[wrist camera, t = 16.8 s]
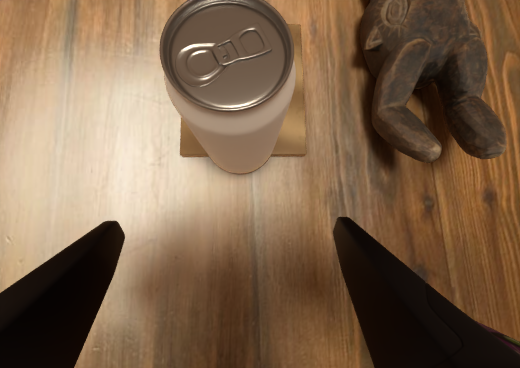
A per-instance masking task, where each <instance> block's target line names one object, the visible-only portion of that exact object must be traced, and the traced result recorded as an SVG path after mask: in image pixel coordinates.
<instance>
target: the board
mask: <svg viewBox="0 0 520 368" xmlns="http://www.w3.org/2000/svg"><path fill="white" fill-rule="evenodd" d="M287 25H288V27H289V29H290V32H291V35H292V38H293V43H294V62H295V69H296V80H295V87H294V91H293V95H292V98H291V101H290V104H289V107H288V110H287V113H286V116H285V119H284V121H283V124H282V127H281V130H280V133H279V135H278V138H277V141H276V144H275V146H274V149H273V151H272V154H271V156H305V155H306V154H307V152H306V130H305V109H304V88H303V67H302V46H301V25H300V24H287ZM180 155H181V156H182V157H209V155H208V154H207V152H206V151H205V150H204V148H203V147H202V146H201V144H200V143H199V141H198V140H197V139H196V137H195V136H194V134H193V133H192V131H191V130H190V129H189V127H188V126H187V124H186V123H185V121H184V120H183V118H182V117H181V139H180Z"/></svg>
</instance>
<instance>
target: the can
mask: <svg viewBox="0 0 520 368" xmlns="http://www.w3.org/2000/svg"><path fill="white" fill-rule="evenodd" d="M160 59H161V64H162V67H163V70H164V79H165V85H166V89H167V92H168V94H169V97H170V99H171V101H172V103H173V105H174V106H175V108H176V109H177V111H178V113H179V114H180V116H181V117H182V118H183V120H184V121H185V123H186V124H187V126H188V127H189V129H190V130H191V131H192V133H193V134H194V136H195V137H196V139H197V140H198V141H199V143H200V144H201V146H202V147H203V148H204V150H205V151H206V152H207V154H208V155H209V157H210V158H211V159H212V160H213V162H214V163H215V164H216V165H217V166H219V167H220V168H222V169H223V170H225V171H228V172H231V173H237V174H242V173H249V172H252V171H254V170H256V169H258V168H260V167H261V166H262V165H264V164H265V163H266V161H267V160H268V159H269V157H270V156H271V154H272V151H273V149H274V146H275V144H276V141H277V138H278V135H279V133H280V130H281V127H282V124H283V121H284V119H285V116H286V113H287V110H288V107H289V104H290V101H291V98H292V95H293V91H294V87H295V80H296V69H295V62H294V43H293V38H292V35H291V32H290V29H289V27H288V25H287V23H286V22H285V20H284V19H283V17H282V16H281V15H280V13H279V12H278V11H277V10H276V9H275V8H274V7H272V6H271V5H270V4H269V3H267V2H266V1H264V0H188V1H186V2H185V3H183V4H182V5H181V6H180V7H178V8H177V9H176V10H175V12H174V13H173V14H172V15H171V16H170V18H169V19H168V21H167V23H166V25H165V27H164V29H163V32H162V35H161V40H160Z"/></svg>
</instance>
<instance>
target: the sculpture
mask: <svg viewBox="0 0 520 368" xmlns="http://www.w3.org/2000/svg"><path fill="white" fill-rule="evenodd" d="M481 38H482V34H481V31H480V30H479V29H478V27H477V26H476V25H475V24H473V23H472V22H471V21H470V20H469V17H468V13H467V11H466V6H465V1H464V0H370V3H369V5H368V6H367V8H366V9H365V11H364V14H363V18H362V22H361V28H360V41H361V47H362V51H363V54H364V57H365V60H366V62H367V65H368V67H369V70H370V72H371V73H372V75H373V76H374V77H375V78H376V79H377V81H376V85H375V90H374V96H373V102H372V125H373V127H374V128H375V130H376V131H377V132H378V133H379V135H380V136H381V137H383V138H384V139H385V140H386V141H387V142H388V143H389V144H390V145H392V146H393V147H394V148H395V149H397V150H398V151H400V152H401V153H403V154H405V155H408V156H410V157H412V158H414V159H416V160H419V161H422V162H426V163H430V162H433V161H435V160H437V158H438V157H439V156H440V154H441V149H442V145H441V144H440V142H439V141H438V140H437V139H436V137H435V136H434V135H433V134H432V133H431V132H430V131H429V129H428V128H427V127H426V126H425V125H424V124H423V123H422V121H421V120H420V119H419V118H418V117H417V116H416V115H414V114H413V113H412V112H411V111H410V110H409V109H408V108H406V106H405V105H406V103H407V102H408V100H409V98H410V96H411V94H412V92H413V90H414V89H421V88H423V87H425V86H427V85H429V84H431V83H433V82H434V81H435V84H436V86H437V89H438V93H439V96H440V98H441V104H442V106H443V114H444V120H445V124H446V126H447V128H448V129H449V131H450V133H451V134H452V136H453V137H454V139H455V140H456V142H457V143H458V144H459V146H460V147H461V148H462V149H463V150H464V151H465V152H466V153H467V154H469V155H471V156H474V157H477V158H480V159H491V158H495V157H498V156H500V155H502V154H503V153H504V151H505V149H506V132H505V127H504V126H503V124H502V123H501V121H500V120H499V118H498V117H497V115H496V114H495V113H494V111H493V110H492V109H491V108H490V107H489V106H488V105H487V104H486V103H485V102H484V101H483V100H482V99H481V95H482V92H483V89H484V86H485V81H486V75H487V70H488V69H487V52H486V49H485V45H484V42H483V41H482V40H481Z"/></svg>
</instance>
